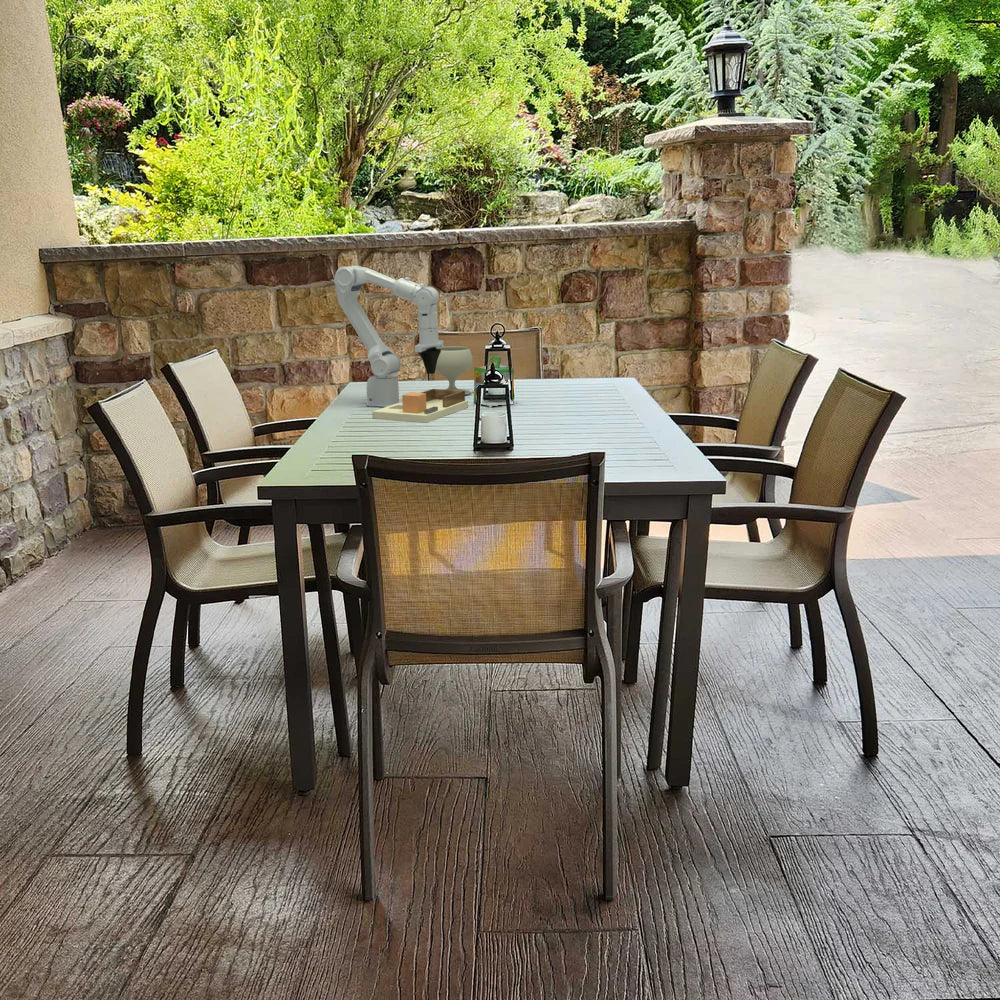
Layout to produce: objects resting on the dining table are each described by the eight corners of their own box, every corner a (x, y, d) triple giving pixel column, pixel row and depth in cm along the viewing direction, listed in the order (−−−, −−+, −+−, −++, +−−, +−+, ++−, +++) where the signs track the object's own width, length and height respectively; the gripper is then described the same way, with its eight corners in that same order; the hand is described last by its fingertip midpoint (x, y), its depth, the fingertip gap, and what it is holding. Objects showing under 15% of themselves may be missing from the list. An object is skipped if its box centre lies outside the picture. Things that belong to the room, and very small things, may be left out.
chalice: (426, 392, 335) (425, 347, 331) (467, 389, 339) (466, 345, 335) (436, 398, 322) (435, 352, 318) (478, 396, 326) (477, 349, 322)
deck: (372, 418, 292) (372, 411, 291) (416, 403, 314) (416, 397, 314) (426, 422, 284) (426, 415, 284) (468, 407, 307) (467, 400, 306)
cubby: (413, 405, 300) (412, 395, 300) (433, 398, 311) (433, 388, 310) (445, 407, 296) (445, 397, 295) (465, 400, 307) (464, 390, 306)
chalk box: (473, 404, 313) (472, 356, 309) (496, 400, 318) (496, 353, 314) (491, 408, 306) (490, 359, 302) (514, 404, 311) (514, 356, 307)
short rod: (424, 414, 286) (424, 409, 286) (434, 410, 291) (434, 406, 291) (427, 414, 286) (427, 410, 285) (437, 410, 291) (437, 406, 291)
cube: (402, 412, 289) (402, 395, 288) (411, 409, 294) (411, 392, 292) (418, 413, 287) (417, 396, 286) (426, 410, 292) (426, 393, 290)
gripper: (428, 330, 293) (430, 377, 297) (451, 325, 306) (453, 370, 310) (407, 330, 296) (410, 376, 300) (431, 325, 309) (433, 369, 313)
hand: (430, 373), depth 305 cm, fingers closed
